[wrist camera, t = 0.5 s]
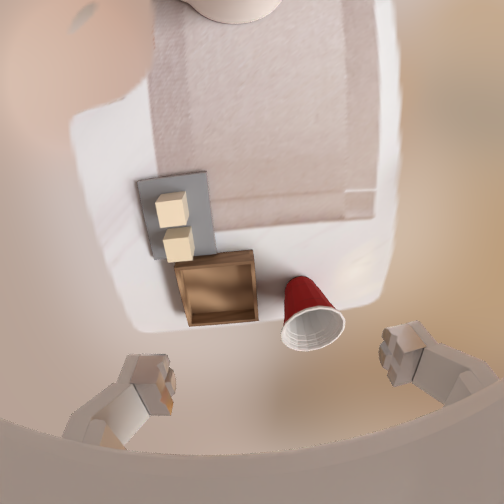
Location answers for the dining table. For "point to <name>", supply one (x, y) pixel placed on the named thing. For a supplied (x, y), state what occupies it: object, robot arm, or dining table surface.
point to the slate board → (197, 208)
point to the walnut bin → (218, 288)
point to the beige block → (179, 244)
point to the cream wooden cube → (172, 209)
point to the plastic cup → (309, 317)
